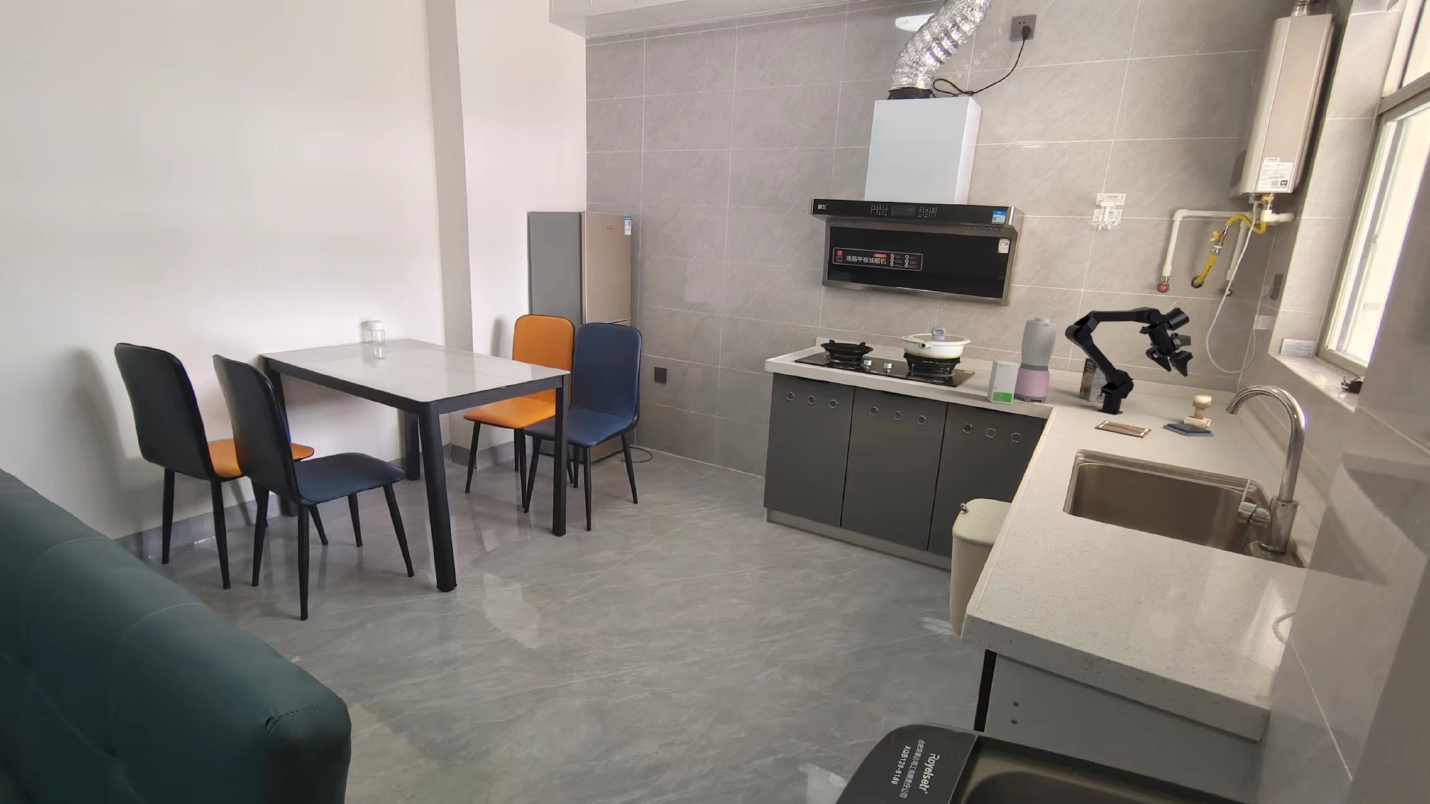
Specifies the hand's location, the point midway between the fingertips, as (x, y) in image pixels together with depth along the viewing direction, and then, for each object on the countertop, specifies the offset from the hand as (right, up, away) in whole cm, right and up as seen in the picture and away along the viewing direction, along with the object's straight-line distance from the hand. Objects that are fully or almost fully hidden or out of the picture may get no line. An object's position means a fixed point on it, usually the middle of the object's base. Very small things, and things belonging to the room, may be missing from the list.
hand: (1178, 373), depth 245 cm
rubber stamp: (0, -19, -9) cm, 21 cm away
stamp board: (-32, -20, -20) cm, 43 cm away
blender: (-46, -9, +21) cm, 51 cm away
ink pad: (-10, -20, -19) cm, 29 cm away
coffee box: (-18, -9, +25) cm, 32 cm away
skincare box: (-60, -10, +12) cm, 62 cm away
